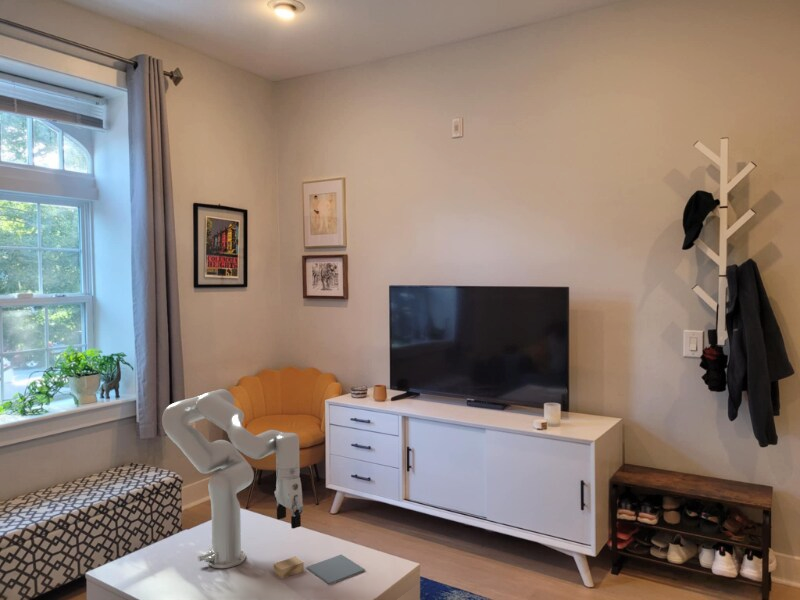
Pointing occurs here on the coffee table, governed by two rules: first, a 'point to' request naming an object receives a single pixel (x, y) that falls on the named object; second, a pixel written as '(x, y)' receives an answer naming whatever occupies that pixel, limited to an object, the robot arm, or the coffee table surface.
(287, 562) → the light brown rectangular block
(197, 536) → the coffee table surface
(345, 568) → the mat
